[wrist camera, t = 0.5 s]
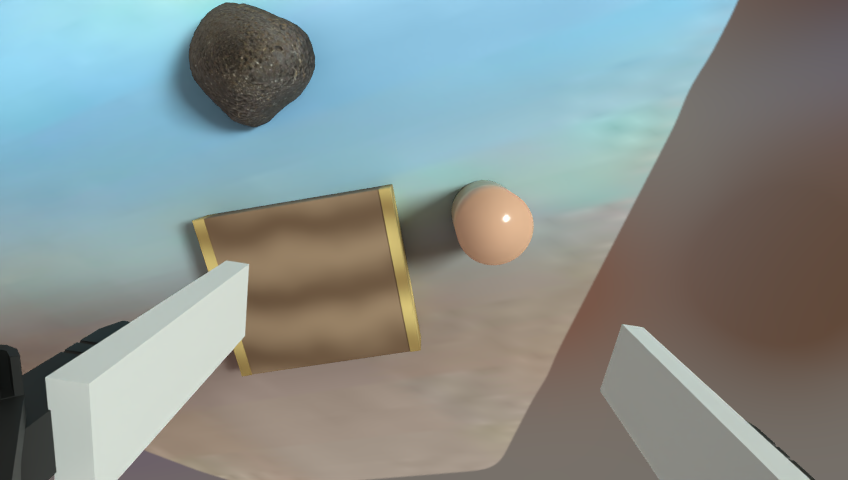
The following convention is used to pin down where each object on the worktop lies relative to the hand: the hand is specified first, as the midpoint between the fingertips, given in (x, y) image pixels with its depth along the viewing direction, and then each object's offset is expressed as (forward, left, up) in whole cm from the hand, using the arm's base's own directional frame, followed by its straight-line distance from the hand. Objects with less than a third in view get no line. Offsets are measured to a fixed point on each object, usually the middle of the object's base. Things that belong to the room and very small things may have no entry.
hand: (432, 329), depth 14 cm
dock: (+5, -12, -25) cm, 28 cm away
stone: (-15, -12, -25) cm, 32 cm away
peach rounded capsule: (+1, +5, -25) cm, 25 cm away
